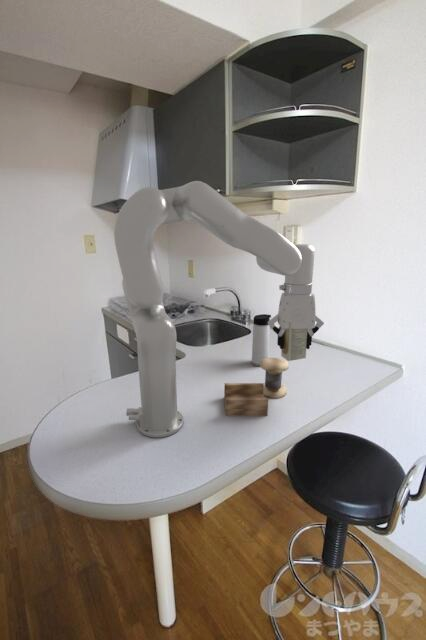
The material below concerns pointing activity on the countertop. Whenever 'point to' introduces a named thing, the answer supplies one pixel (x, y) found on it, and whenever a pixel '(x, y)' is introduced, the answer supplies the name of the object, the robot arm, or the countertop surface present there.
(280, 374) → the bobbin
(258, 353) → the travel mug
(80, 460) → the countertop surface
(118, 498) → the countertop surface
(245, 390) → the walnut stepped block
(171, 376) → the robot arm
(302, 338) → the skincare box
